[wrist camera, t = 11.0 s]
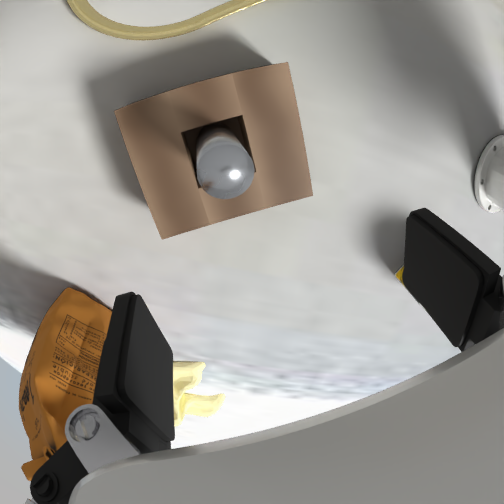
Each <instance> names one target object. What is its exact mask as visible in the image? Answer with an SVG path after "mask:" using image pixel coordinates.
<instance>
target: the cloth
mask: <svg viewBox="0 0 504 504" xmlns="http://www.w3.org/2000/svg"><path fill="white" fill-rule="evenodd" d="M204 367H205V363H204V362H173V399H174V427H175V426H179V425H180V424H181V423H182V420H183V418H184V416H185V414H190V415H197V416H203V417H208V416H211V415H213V414H215V413H216V412H217V411H218V410H219V409H220V407H221V406H222V404H223V402H224V399H225V395H224V394H218V395H213V396H201V395H194V394H185V393H184V392H185V391H186V390H189V389H192V388H194V387H195V386H196V385H198V384H199V382H200V381H201V379H202V370H203V368H204Z"/></svg>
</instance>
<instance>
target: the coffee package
mask: <svg viewBox="0 0 504 504" xmlns="http://www.w3.org/2000/svg"><path fill="white" fill-rule="evenodd" d="M111 314H112V311H111V310H109V309H108V308H106V307H105V306H103V305H101V304H99V303H97V302H96V301H94V300H92V299H91V298H89V297H88V296H87V295H85V294H84V293H82V292H79V291H76V290H74V289H72V288H67V289H65V290H64V291H63V292H62V293H61V294H60V296H59V297H58V298H57V300H56V301H55V302H54V303H53V305H52V306H51V307H50V309H49V310H48V311H47V313H46V315H45V317H44V318H43V320H42V322H41V324H40V326H39V328H38V331H37V333H36V335H35V337H34V340H33V343H32V345H31V348H30V351H29V354H28V356H27V359H26V362H25V366H24V370H23V373H22V377H21V383H20V390H19V410H20V415H21V418H22V422H23V425H24V428H25V431H26V433H27V435H28V437H29V443H30V450H31V456H32V459H33V460H32V461H30V462H27V463H24V464H23V466H22V470H23V472H24V474H25V476H26V478H27V479H28V480H29V481H31V480H32V477H33V475H34V474H35V472H36V471H37V470H38V469H39V468H40V467H41V466H42V465H43V464H44V463H45V462H46V461H47V460H48V459H49V458H50V457H51V456H52V455H53V454H54V453H55V452H56V451H57V450H58V449H59V448H60V447H61V446H62V445H63V444H64V443H65V442H66V441H67V438H66V435H65V425H66V421H67V419H68V417H69V415H70V414H71V413H72V412H73V411H74V410H75V409H76V408H78V407H79V406H82V405H85V404H92V401H93V395H94V389H95V384H96V378H97V373H98V368H99V363H100V358H101V353H102V348H103V344H104V341H105V340H106V336H107V331H108V327H109V323H110V319H111Z"/></svg>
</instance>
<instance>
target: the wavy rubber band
mask: <svg viewBox="0 0 504 504" xmlns="http://www.w3.org/2000/svg"><path fill="white" fill-rule="evenodd" d="M264 1H267V0H232V1H229V2H227V3H224V4H222V5H220V6H217V7H215V8H213V9H210V10H208V11H206V12H204V13H202V14H200V15H197V16H195V17H193V18H190V19H188V20H185V21H182V22H178V23H174V24H170V25H164V26H156V27H137V26H130V25H124V24H121V23H117V22H115V21H112V20H110V19H108V18H106V17H104V16H102V15H101V14H99V13H98V12H97V11H96V10H95V9H94V8H93V7H92V6H91V5H90V4H89V3H88V1H87V0H67V2H68V4H69V6H70V8H71V9H72V11H73V12H74V13H75V14H76V16H77V17H78V18H79V19H80V20H82V21H83V22H84V23H85V24H87V25H88V26H89V27H91V28H93V29H95V30H97V31H98V32H101V33H103V34H106V35H109V36H113V37H117V38H122V39H129V40H157V39H165V38H170V37H175V36H179V35H183V34H186V33H189V32H192V31H195V30H197V29H200V28H202V27H204V26H207V25H209V24H211V23H213V22H215V21H217V20H220V19H222V18H224V17H226V16H229V15H231V14H233V13H236V12H238V11H241V10H243V9H246V8H248V7H251V6H253V5H256V4H259V3H261V2H264ZM241 3H242V4H241ZM236 5H237V6H236ZM224 10H225V11H224ZM215 14H216V15H215ZM204 19H205V20H204ZM202 20H203V21H202ZM195 23H196V24H195ZM190 25H191V26H190ZM184 27H185V28H184ZM173 30H174V31H173ZM162 32H163V33H162ZM135 33H136V34H135ZM152 33H154V34H152Z"/></svg>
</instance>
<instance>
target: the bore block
mask: <svg viewBox="0 0 504 504" xmlns="http://www.w3.org/2000/svg"><path fill="white" fill-rule="evenodd" d="M114 112H115V115H116V119H117V122H118V125H119V127H120V130H121V133H122V136H123V139H124V142H125V145H126V148H127V151H128V153H129V156H130V159H131V162H132V164H133V167H134V170H135V173H136V175H137V178H138V181H139V183H140V186H141V189H142V191H143V194H144V196H145V199H146V201H147V204H148V207H149V209H150V212H151V214H152V217H153V219H154V221H155V224H156V226H157V229H158V231H159V234H160V236H161V238H162V239H165V238H169V237H172V236H175V235H178V234H181V233H185V232H188V231H191V230H195V229H198V228H201V227H204V226H208V225H211V224H214V223H218V222H221V221H225V220H228V219H231V218H235V217H238V216H242V215H245V214H249V213H252V212H255V211H259V210H262V209H266V208H270V207H273V206H277V205H280V204H284V203H288V202H291V201H295V200H298V199H302V198H306V197H310V196H313V192H312V185H311V179H310V173H309V167H308V161H307V155H306V150H305V144H304V138H303V133H302V128H301V122H300V117H299V112H298V107H297V102H296V97H295V93H294V88H293V83H292V79H291V74H290V69H289V65H288V62H286V63H279V64H273V65H267V66H262V67H257V68H252V69H248V70H243V71H239V72H234V73H230V74H226V75H222V76H218V77H214V78H210V79H206V80H203V81H199V82H196V83H192V84H189V85H185V86H182V87H179V88H176V89H173V90H169V91H166V92H163V93H160V94H157V95H154V96H152V97H149V98H146V99H143V100H140V101H138V102H135V103H132V104H130V105H127V106H125V107H122V108H120V109H118V110H115V111H114ZM216 123H217V124H223V125H225V126H227V127H228V128H230V129H231V130H232V132H233V133H234V135H235V136H236V137H237V139H238V140H239V142H240V143H241V144H242V146H243V147H244V149H245V150H246V151H247V153H248V154H249V156H250V157H251V159H252V161H253V164H254V178H253V181H252V183H251V185H250V186H249V188H248V189H247V190H246V191H245V192H244V193H242V194H241V195H239V196H237V197H234V198H231V199H218V198H215V197H212V196H211V195H209V194H207V193H206V192H205V191H204V190H203V189H202V187H201V186H200V184H199V181H198V178H197V153H196V140H197V136H198V134H199V133H200V131H201V130H202V129H203V128H204V127H206V126H208V125H210V124H216Z"/></svg>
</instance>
